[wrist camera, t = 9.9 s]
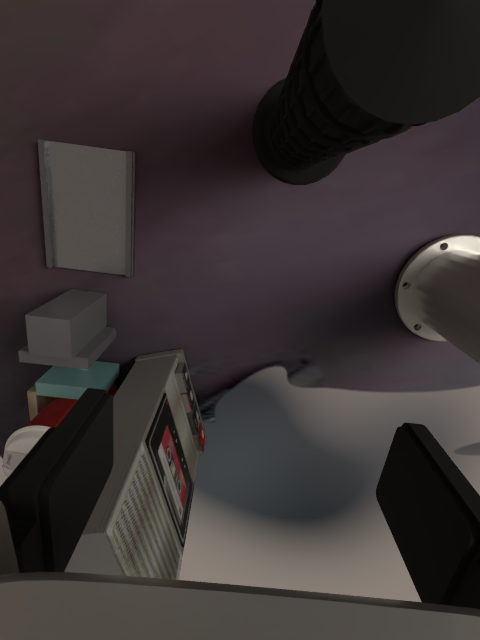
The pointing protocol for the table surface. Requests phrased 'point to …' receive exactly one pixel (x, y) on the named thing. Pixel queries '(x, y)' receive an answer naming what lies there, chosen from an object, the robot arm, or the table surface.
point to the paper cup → (37, 430)
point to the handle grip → (367, 81)
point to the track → (88, 207)
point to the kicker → (70, 344)
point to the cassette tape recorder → (146, 474)
